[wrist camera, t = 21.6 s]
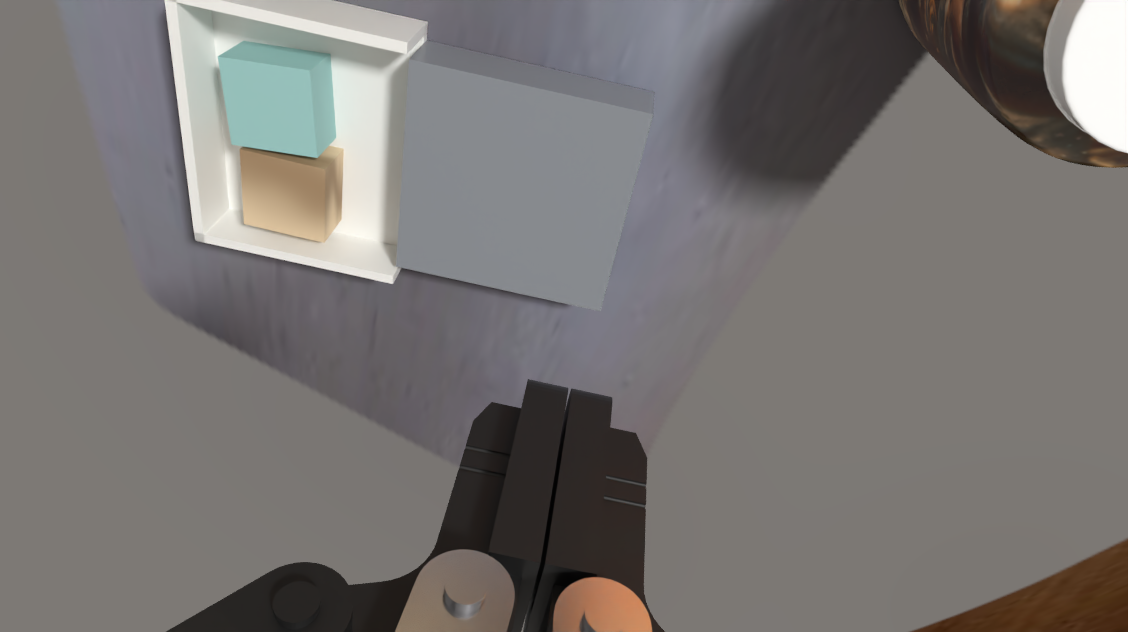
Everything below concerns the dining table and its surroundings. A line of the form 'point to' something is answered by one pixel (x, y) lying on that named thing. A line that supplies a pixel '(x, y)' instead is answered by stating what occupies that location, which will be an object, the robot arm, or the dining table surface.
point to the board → (517, 173)
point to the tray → (362, 118)
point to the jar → (1038, 68)
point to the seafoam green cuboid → (278, 98)
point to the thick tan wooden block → (292, 191)
